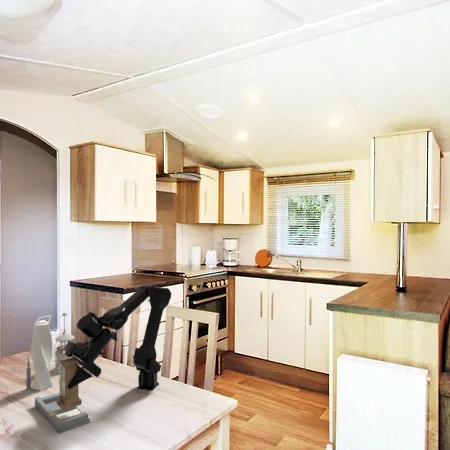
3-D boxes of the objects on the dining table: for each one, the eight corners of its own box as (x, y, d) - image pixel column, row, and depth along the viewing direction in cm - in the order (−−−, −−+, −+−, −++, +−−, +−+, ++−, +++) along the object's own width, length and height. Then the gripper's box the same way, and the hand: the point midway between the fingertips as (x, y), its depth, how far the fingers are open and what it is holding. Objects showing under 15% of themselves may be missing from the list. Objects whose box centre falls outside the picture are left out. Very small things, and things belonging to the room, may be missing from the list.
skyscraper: (43, 382, 161) (42, 313, 161) (57, 385, 157) (57, 315, 157) (25, 390, 153) (24, 318, 153) (39, 394, 150) (39, 320, 150)
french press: (53, 374, 168) (53, 316, 168) (51, 366, 179) (51, 311, 179) (78, 370, 173) (77, 313, 173) (74, 362, 183) (74, 308, 183)
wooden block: (56, 403, 130) (56, 360, 130) (74, 398, 134) (74, 355, 134) (63, 410, 125) (62, 364, 125) (81, 404, 129) (81, 360, 129)
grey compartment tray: (33, 406, 139) (33, 396, 139) (63, 397, 145) (63, 388, 145) (56, 433, 121) (56, 421, 121) (89, 422, 127) (89, 410, 127)
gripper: (70, 325, 139) (37, 364, 132) (91, 336, 125) (56, 381, 118) (92, 343, 144) (61, 381, 137) (115, 355, 130) (82, 399, 123)
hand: (64, 385), depth 129 cm, fingers closed on wooden block, 6 cm apart
